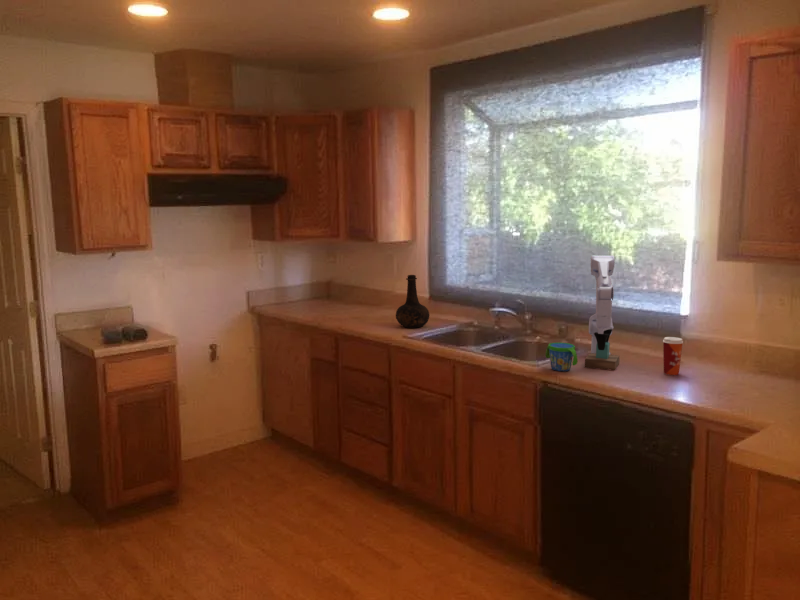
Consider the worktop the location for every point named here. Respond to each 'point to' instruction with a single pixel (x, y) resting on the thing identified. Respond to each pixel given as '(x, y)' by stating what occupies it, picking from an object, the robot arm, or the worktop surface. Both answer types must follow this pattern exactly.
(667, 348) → the paper cup
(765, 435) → the worktop surface
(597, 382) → the worktop surface
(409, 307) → the glass bottle
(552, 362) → the snack cup
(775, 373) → the worktop surface
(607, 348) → the teal block
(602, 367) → the walnut base
